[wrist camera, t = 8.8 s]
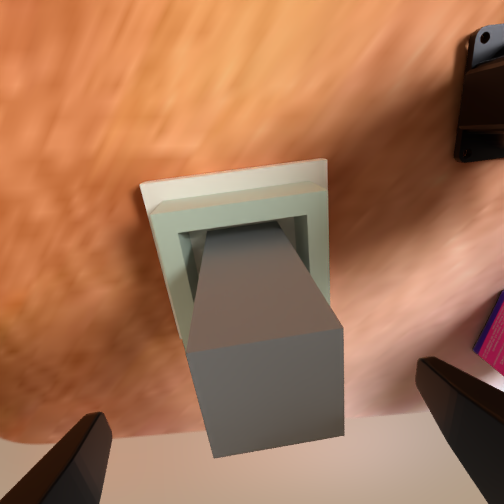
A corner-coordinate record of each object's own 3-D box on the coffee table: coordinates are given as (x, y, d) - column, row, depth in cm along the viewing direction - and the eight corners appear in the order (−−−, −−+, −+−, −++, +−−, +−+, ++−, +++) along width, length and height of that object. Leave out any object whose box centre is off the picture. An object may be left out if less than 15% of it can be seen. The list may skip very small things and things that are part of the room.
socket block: (321, 158, 17) (349, 164, 13) (325, 307, 20) (348, 345, 17) (144, 181, 16) (120, 195, 12) (182, 329, 20) (172, 373, 16)
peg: (276, 220, 17) (343, 327, 7) (282, 282, 18) (344, 435, 9) (206, 231, 16) (185, 353, 7) (219, 292, 18) (213, 458, 9)
